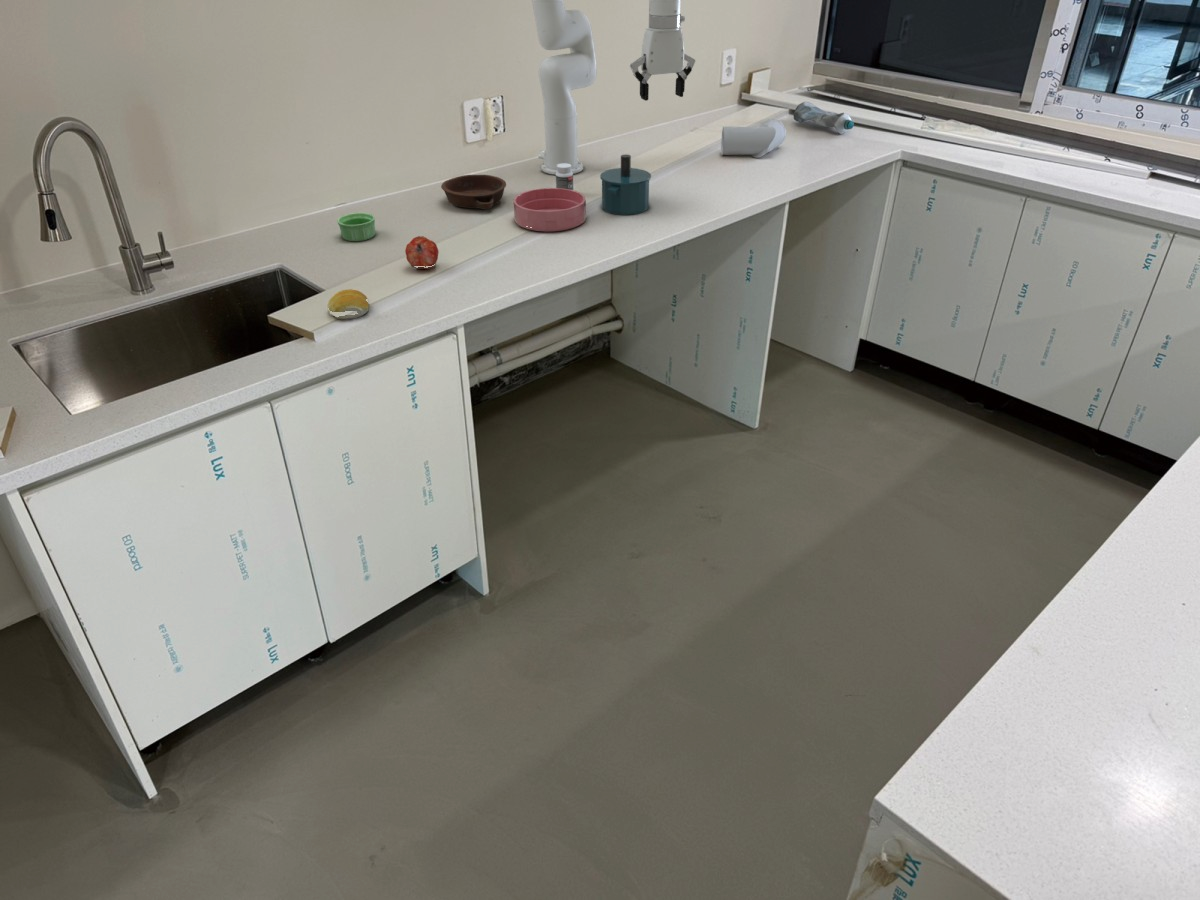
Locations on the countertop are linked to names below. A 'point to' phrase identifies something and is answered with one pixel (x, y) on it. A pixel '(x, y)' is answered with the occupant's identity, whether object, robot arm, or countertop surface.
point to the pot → (625, 198)
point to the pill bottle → (564, 176)
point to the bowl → (549, 209)
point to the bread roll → (349, 303)
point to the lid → (625, 174)
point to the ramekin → (357, 226)
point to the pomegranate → (422, 252)
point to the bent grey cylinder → (752, 139)
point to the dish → (474, 191)
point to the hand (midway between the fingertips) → (662, 97)
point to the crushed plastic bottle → (822, 117)
